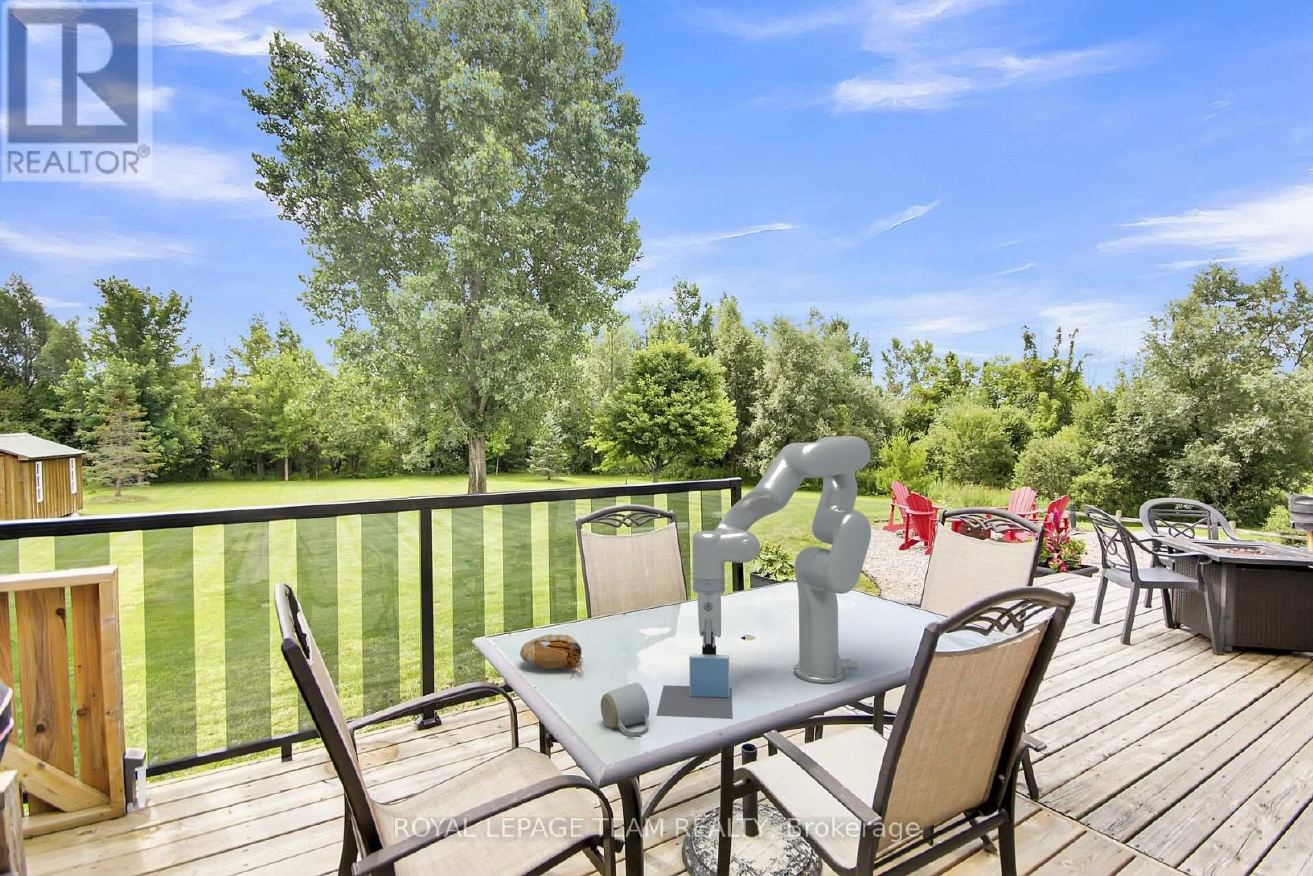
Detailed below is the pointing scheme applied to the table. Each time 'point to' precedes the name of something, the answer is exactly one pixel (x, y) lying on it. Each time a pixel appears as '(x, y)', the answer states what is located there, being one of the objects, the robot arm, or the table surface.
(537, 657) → the nautilus
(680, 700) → the mat
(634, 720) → the ceramic mug
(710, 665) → the tile
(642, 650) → the table surface
